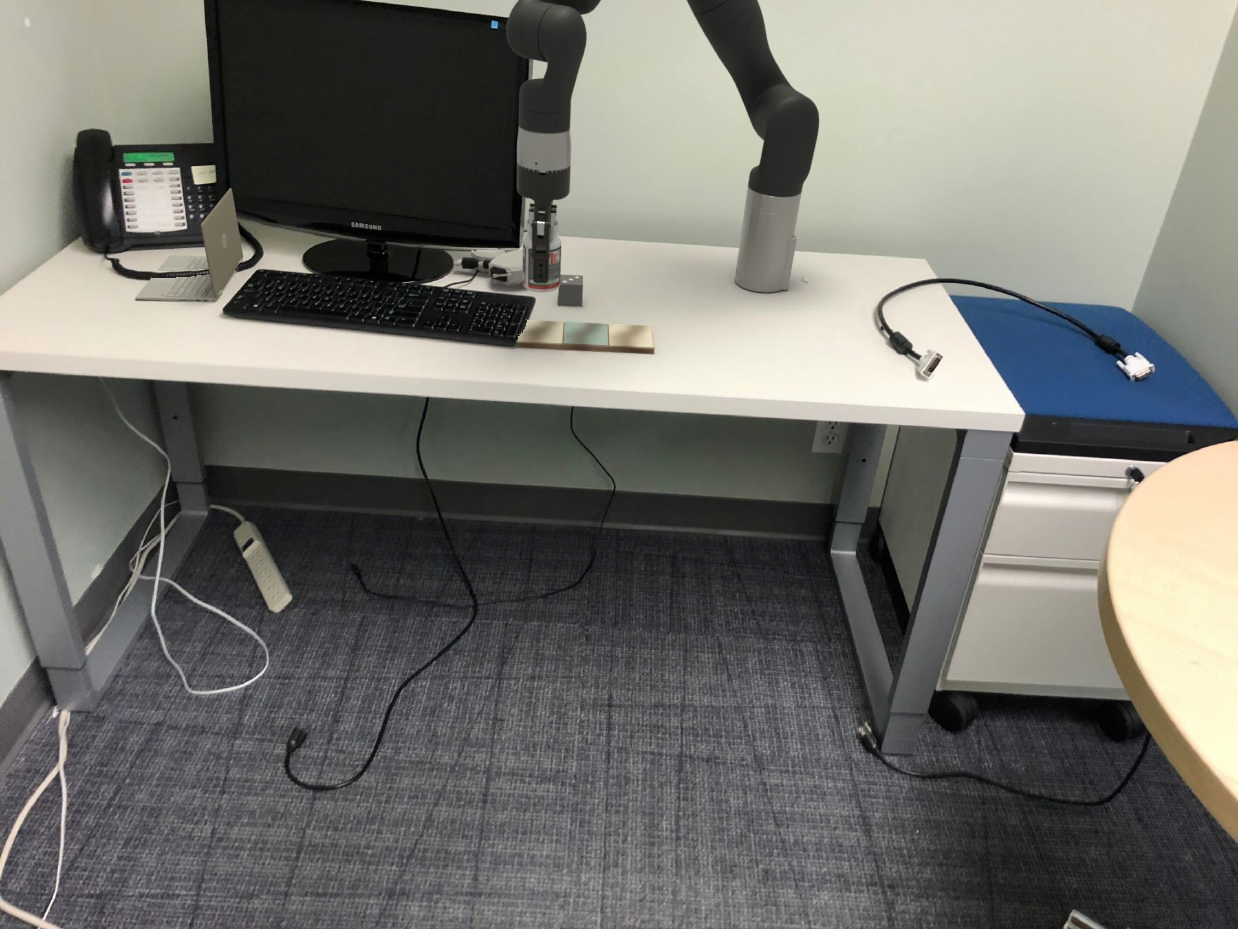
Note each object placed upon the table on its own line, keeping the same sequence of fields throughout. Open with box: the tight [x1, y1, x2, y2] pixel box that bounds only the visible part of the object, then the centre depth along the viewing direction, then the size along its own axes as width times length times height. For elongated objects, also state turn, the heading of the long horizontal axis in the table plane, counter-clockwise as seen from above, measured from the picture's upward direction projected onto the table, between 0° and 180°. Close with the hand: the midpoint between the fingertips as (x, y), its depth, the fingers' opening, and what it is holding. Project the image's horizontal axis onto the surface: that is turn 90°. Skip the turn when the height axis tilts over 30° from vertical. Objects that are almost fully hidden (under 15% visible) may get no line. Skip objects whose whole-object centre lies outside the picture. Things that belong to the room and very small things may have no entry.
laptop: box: [134, 187, 244, 303], centre depth 152 cm, size 18×12×13 cm
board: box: [516, 319, 655, 355], centre depth 146 cm, size 21×8×1 cm, turn 92°
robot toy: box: [453, 249, 523, 287], centre depth 164 cm, size 12×4×15 cm
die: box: [557, 274, 584, 308], centre depth 157 cm, size 4×4×4 cm
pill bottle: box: [522, 218, 562, 294], centre depth 139 cm, size 6×6×10 cm
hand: (541, 273), depth 140 cm, fingers closed on pill bottle, 5 cm apart
